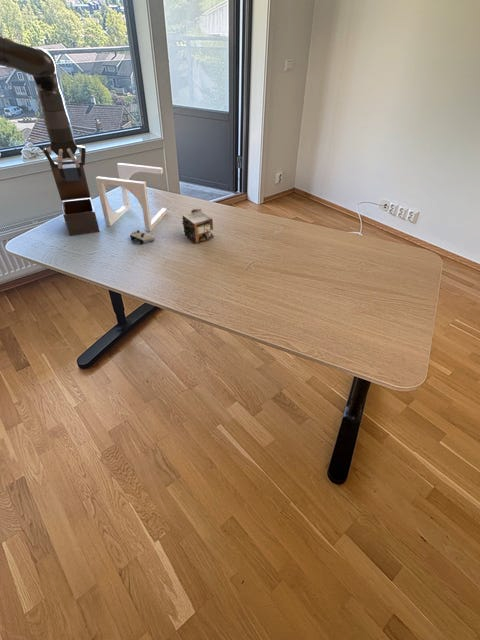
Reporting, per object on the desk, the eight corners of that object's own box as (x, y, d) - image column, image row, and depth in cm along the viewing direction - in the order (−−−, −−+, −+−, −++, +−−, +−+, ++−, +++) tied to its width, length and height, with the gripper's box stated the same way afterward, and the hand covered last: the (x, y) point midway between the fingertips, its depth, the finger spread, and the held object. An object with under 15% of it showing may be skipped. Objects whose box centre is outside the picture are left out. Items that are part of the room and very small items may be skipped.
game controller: (156, 237, 140) (147, 231, 134) (151, 249, 140) (142, 244, 134) (139, 230, 144) (130, 225, 138) (134, 242, 144) (124, 237, 138)
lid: (81, 160, 136) (80, 155, 139) (49, 163, 132) (48, 157, 135) (90, 197, 147) (89, 191, 150) (61, 200, 143) (60, 194, 146)
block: (66, 181, 123) (62, 168, 120) (65, 177, 126) (62, 164, 123) (79, 180, 125) (76, 167, 122) (78, 176, 128) (75, 163, 125)
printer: (203, 227, 154) (201, 206, 148) (224, 251, 136) (223, 228, 130) (179, 231, 150) (176, 210, 144) (197, 257, 132) (195, 234, 126)
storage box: (99, 231, 144) (94, 211, 138) (69, 236, 140) (63, 215, 134) (95, 217, 153) (90, 197, 148) (67, 220, 150) (61, 201, 144)
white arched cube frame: (126, 207, 163) (118, 162, 150) (167, 212, 160) (162, 167, 147) (106, 225, 148) (95, 177, 135) (150, 231, 146) (143, 183, 132)
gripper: (80, 121, 119) (92, 173, 130) (34, 123, 114) (50, 176, 125) (82, 126, 114) (94, 179, 125) (34, 128, 109) (50, 183, 120)
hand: (72, 177), depth 125 cm, fingers closed on block, 4 cm apart
